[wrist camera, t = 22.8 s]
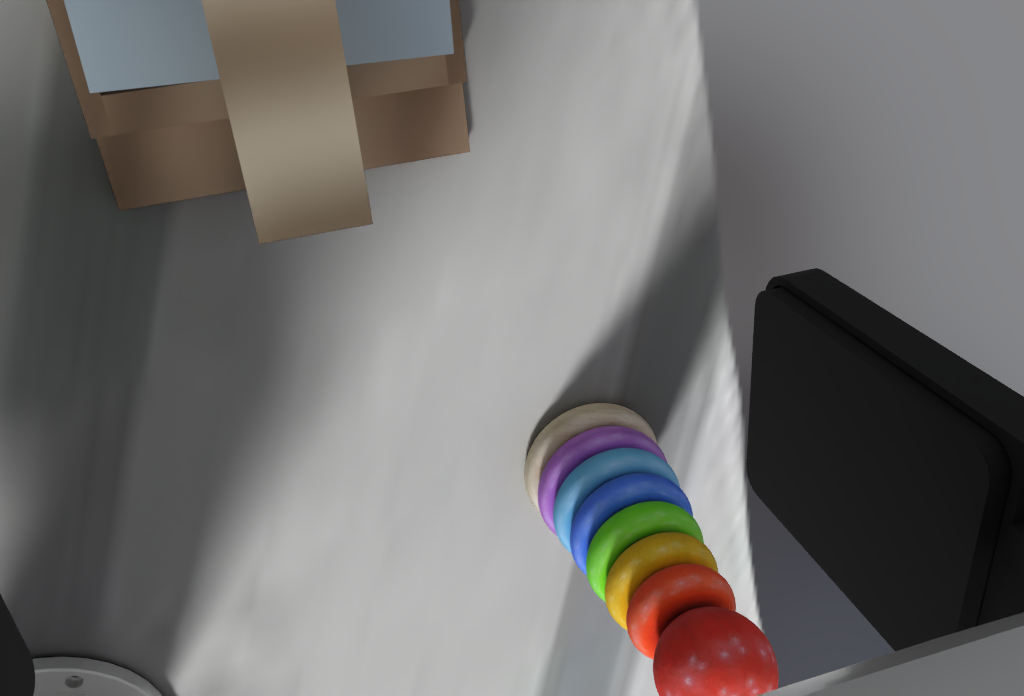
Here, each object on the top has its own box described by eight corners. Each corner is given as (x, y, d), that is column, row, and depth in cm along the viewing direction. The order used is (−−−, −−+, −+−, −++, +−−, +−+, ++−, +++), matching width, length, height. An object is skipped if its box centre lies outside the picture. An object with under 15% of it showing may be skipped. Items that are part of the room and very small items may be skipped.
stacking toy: (646, 381, 49) (850, 617, 33) (651, 492, 53) (836, 751, 37) (512, 416, 47) (658, 681, 32) (527, 528, 51) (664, 814, 35)
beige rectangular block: (160, -204, 25) (147, -224, 21) (284, -213, 26) (295, -233, 22) (254, 195, 31) (259, 244, 27) (353, 179, 32) (372, 223, 27)
